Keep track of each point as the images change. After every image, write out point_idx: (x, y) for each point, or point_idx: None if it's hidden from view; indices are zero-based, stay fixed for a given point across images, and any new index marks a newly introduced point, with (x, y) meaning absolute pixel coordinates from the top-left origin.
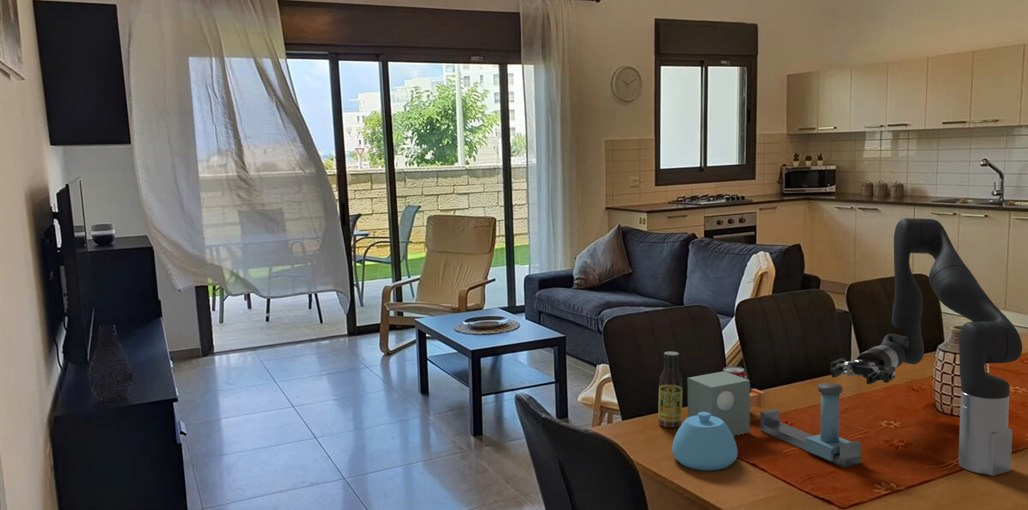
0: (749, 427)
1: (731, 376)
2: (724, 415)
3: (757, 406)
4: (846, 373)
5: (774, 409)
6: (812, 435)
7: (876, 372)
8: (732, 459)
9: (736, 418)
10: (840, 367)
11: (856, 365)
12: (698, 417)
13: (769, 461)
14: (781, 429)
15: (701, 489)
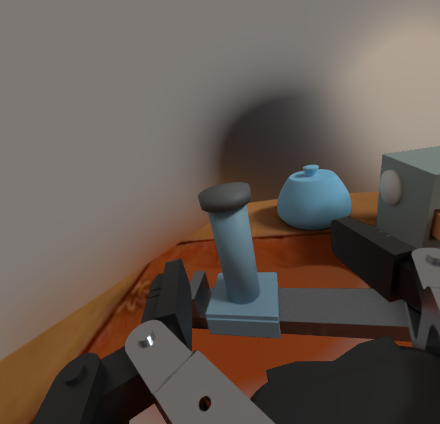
0: None
1: None
2: (389, 212)
3: None
4: (414, 345)
5: None
6: (316, 321)
7: (151, 322)
8: (279, 215)
9: (401, 233)
10: (383, 254)
11: (402, 357)
12: (325, 173)
13: (277, 249)
14: (376, 297)
15: (257, 204)
